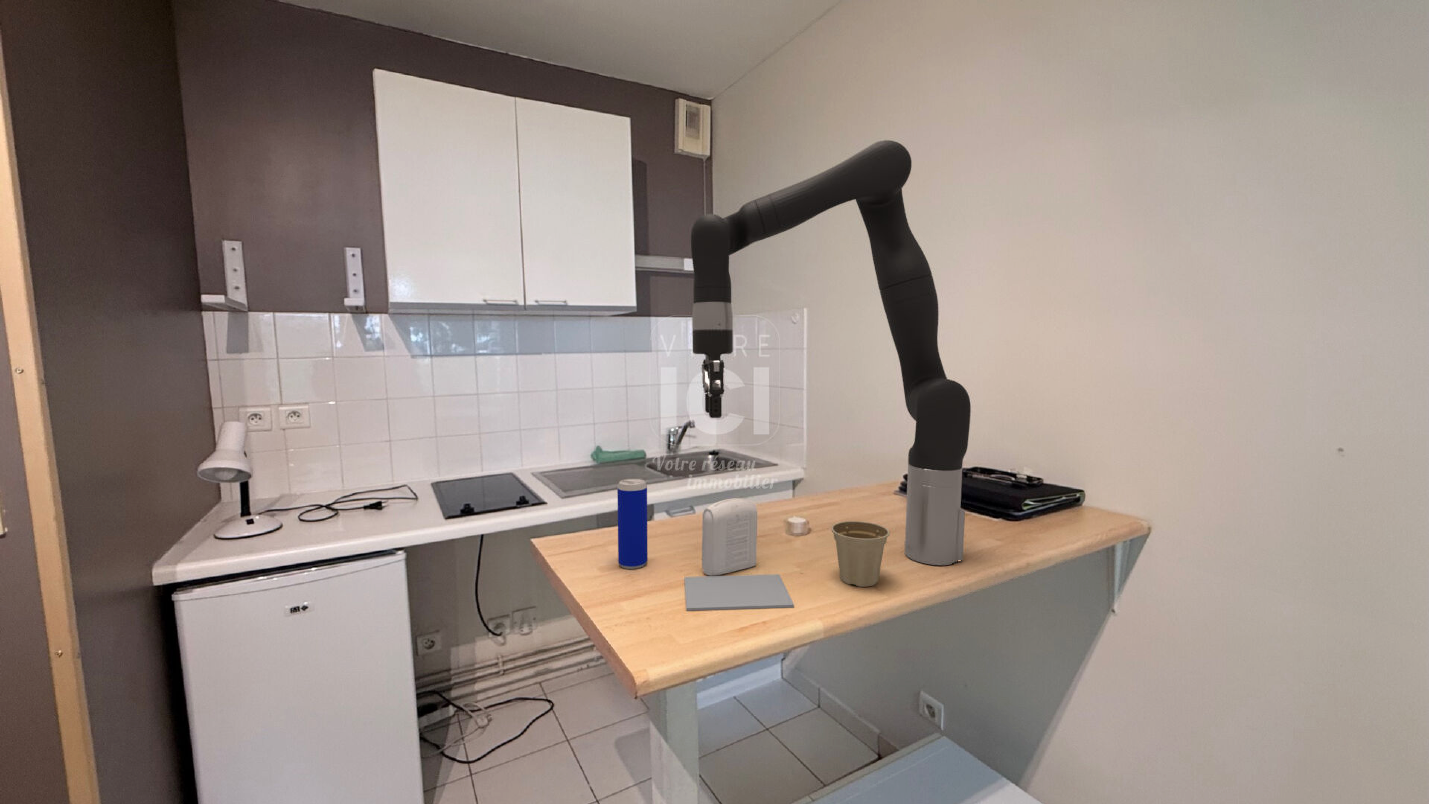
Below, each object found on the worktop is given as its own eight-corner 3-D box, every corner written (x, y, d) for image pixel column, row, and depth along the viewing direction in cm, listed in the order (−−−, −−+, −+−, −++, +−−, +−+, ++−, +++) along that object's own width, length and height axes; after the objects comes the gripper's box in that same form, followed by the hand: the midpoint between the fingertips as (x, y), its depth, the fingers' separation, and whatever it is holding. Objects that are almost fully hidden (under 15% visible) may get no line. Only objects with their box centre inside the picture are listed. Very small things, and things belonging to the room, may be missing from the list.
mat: (779, 576, 91) (779, 574, 91) (794, 607, 80) (794, 604, 80) (684, 579, 90) (684, 576, 90) (686, 610, 79) (686, 608, 79)
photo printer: (745, 558, 99) (746, 492, 98) (760, 566, 96) (761, 498, 94) (698, 570, 93) (698, 501, 92) (711, 579, 90) (712, 507, 89)
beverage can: (653, 561, 97) (652, 480, 96) (637, 572, 93) (636, 486, 91) (629, 557, 100) (628, 477, 98) (612, 567, 95) (611, 483, 93)
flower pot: (817, 577, 91) (819, 527, 90) (853, 564, 97) (854, 517, 96) (863, 597, 84) (865, 543, 83) (899, 582, 89) (901, 531, 89)
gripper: (738, 326, 93) (738, 419, 95) (727, 329, 108) (728, 410, 109) (694, 326, 93) (695, 420, 94) (690, 329, 107) (691, 411, 108)
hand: (713, 415), depth 102 cm, fingers open, 8 cm apart
